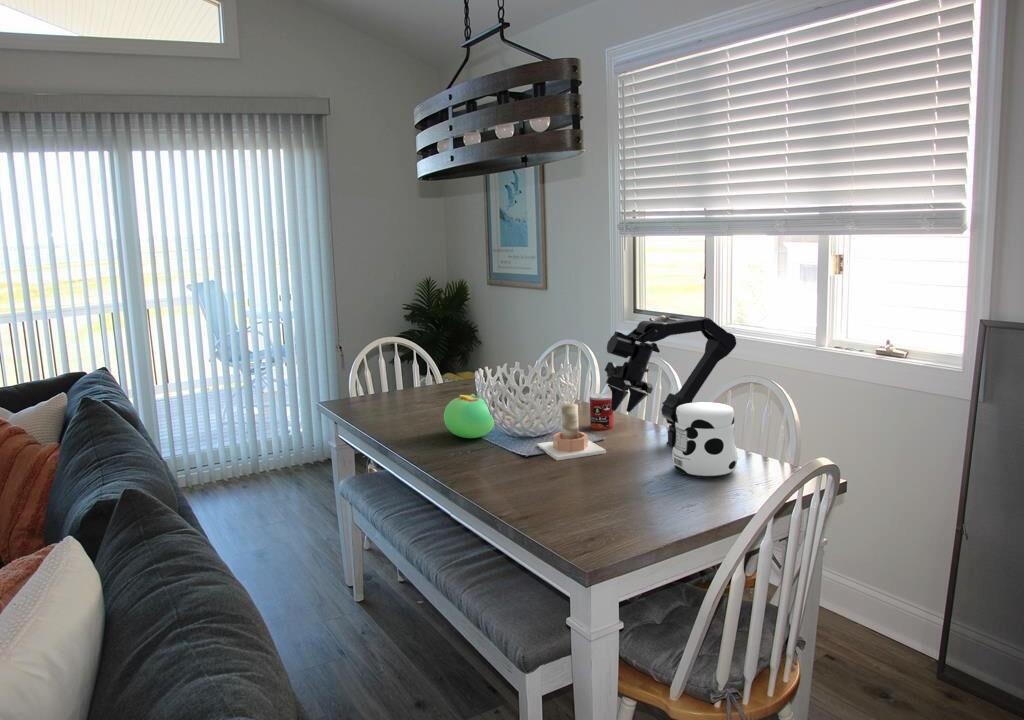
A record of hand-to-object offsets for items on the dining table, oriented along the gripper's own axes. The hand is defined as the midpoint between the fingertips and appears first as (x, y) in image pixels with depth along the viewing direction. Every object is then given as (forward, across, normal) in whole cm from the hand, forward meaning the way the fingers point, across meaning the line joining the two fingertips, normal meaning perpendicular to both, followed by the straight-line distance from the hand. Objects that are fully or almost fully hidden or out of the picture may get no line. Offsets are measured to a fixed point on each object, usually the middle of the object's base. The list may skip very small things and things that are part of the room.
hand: (620, 411), depth 231 cm
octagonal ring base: (+17, +3, -10) cm, 20 cm away
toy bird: (+28, +6, -46) cm, 54 cm away
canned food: (+12, -24, -17) cm, 31 cm away
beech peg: (+16, +3, -10) cm, 19 cm away
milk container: (+6, +2, +32) cm, 32 cm away
